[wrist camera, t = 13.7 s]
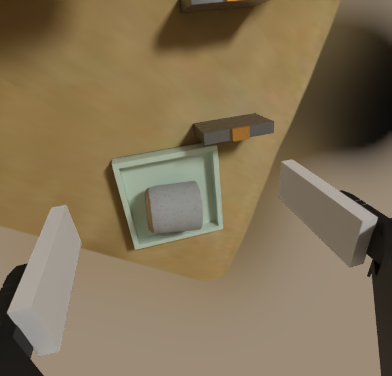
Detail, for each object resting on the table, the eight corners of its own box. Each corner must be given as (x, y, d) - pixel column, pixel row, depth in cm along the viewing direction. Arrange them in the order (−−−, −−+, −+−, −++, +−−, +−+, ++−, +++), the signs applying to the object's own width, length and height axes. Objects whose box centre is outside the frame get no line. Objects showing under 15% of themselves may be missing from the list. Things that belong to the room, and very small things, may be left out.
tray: (134, 241, 46) (135, 249, 44) (112, 158, 39) (111, 164, 37) (219, 221, 49) (223, 228, 47) (212, 140, 41) (217, 145, 39)
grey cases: (194, 134, 40) (205, 146, 35) (179, -3, 32) (190, -16, 27) (255, 123, 42) (275, 134, 36) (255, -10, 34) (281, -23, 28)
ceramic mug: (141, 179, 41) (144, 204, 34) (192, 172, 42) (205, 195, 36) (149, 233, 46) (153, 264, 39) (195, 226, 47) (206, 254, 41)
